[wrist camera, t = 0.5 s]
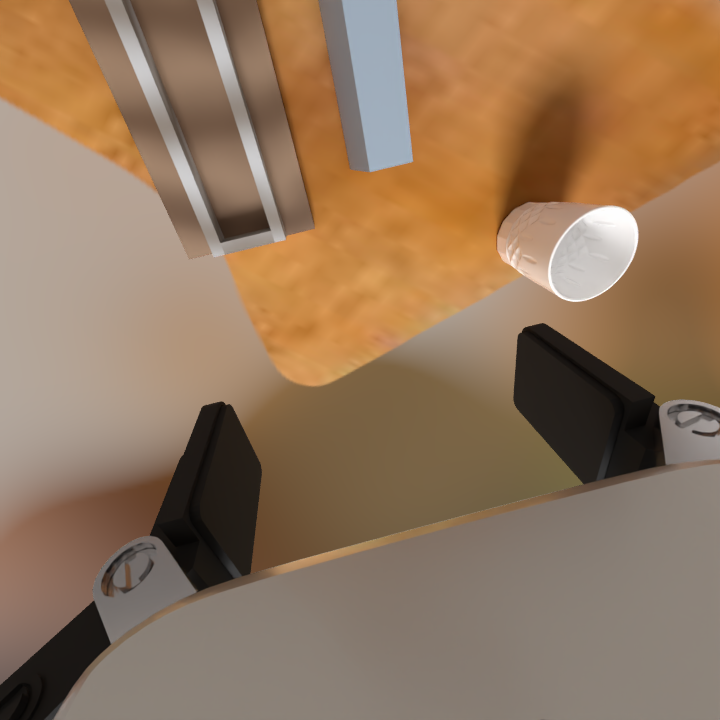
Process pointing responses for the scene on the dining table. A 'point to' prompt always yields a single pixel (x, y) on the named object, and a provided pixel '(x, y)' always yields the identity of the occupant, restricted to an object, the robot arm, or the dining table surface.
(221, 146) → the track plinth
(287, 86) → the dining table surface
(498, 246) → the white cup
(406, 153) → the plain gray rectangular block
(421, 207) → the dining table surface
